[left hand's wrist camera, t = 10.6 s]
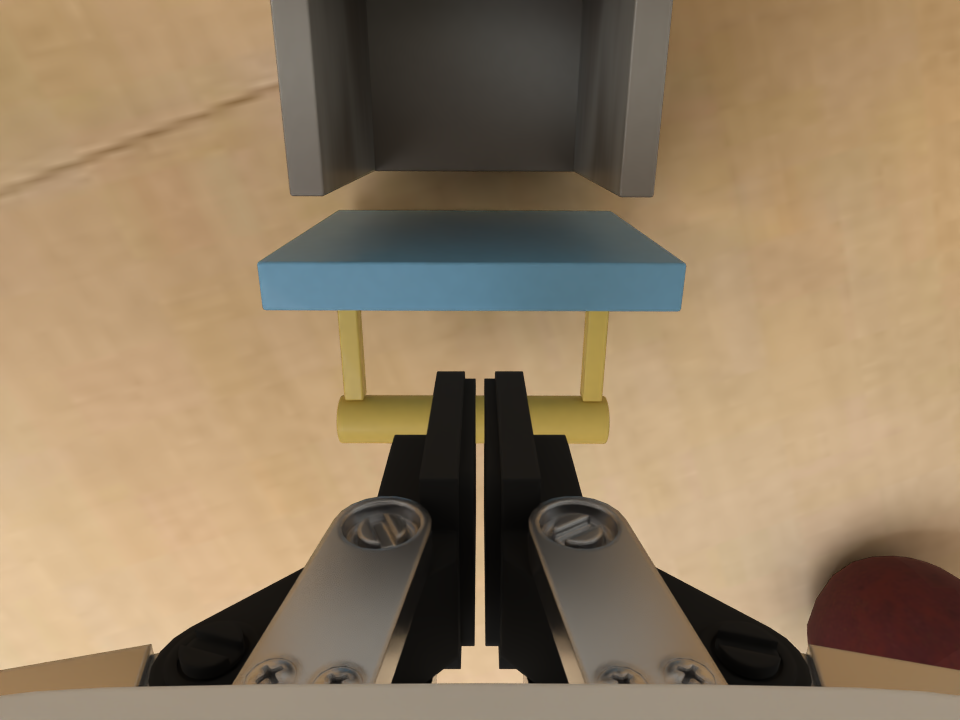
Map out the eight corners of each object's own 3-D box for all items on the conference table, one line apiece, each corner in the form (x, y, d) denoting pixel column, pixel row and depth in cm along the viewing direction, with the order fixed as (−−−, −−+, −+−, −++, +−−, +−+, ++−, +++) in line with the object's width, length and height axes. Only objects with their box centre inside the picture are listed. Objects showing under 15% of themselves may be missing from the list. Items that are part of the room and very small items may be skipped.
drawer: (599, 374, 26) (658, 501, 17) (350, 373, 26) (286, 500, 17) (654, -341, 18) (814, -761, 9) (295, -342, 18) (125, -768, 9)
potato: (970, 585, 30) (1105, 714, 24) (837, 673, 32) (928, 815, 26) (881, 497, 28) (1002, 610, 22) (747, 597, 31) (820, 728, 24)
